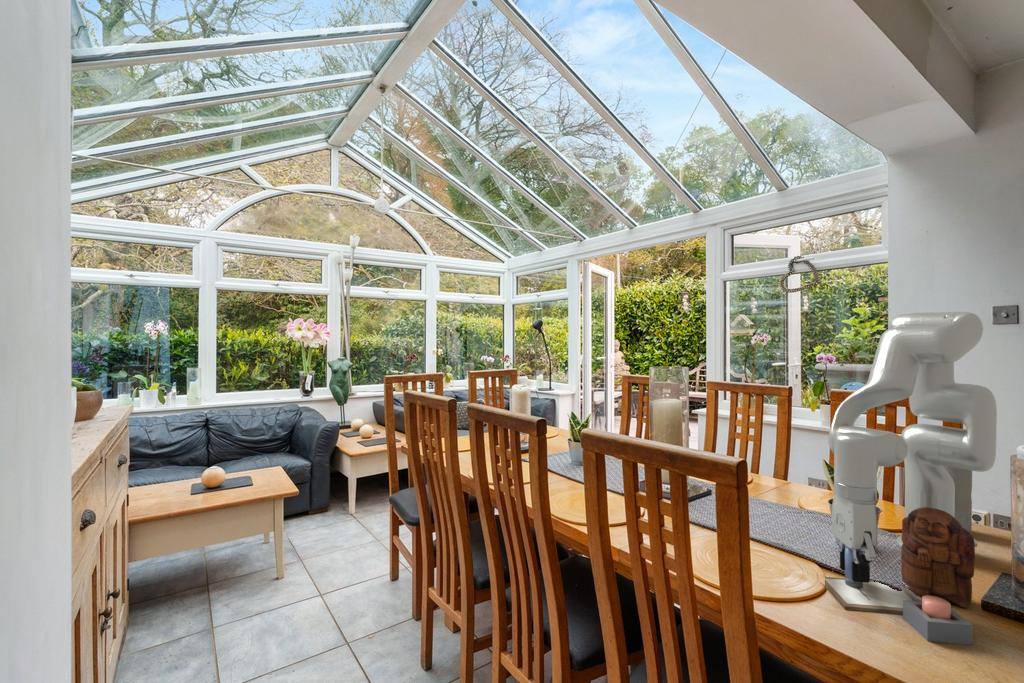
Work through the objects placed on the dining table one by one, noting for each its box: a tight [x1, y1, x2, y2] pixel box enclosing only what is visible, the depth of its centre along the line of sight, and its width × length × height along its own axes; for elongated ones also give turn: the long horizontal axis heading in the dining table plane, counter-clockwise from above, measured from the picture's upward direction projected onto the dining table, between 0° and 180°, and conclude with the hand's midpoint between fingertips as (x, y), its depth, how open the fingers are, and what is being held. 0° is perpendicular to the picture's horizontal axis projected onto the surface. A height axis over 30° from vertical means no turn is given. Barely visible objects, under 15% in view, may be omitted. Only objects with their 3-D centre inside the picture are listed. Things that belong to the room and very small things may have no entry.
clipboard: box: [824, 576, 922, 615], centre depth 101 cm, size 16×12×1 cm
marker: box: [844, 545, 864, 588], centre depth 105 cm, size 3×3×8 cm
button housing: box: [902, 600, 973, 646], centre depth 90 cm, size 7×7×4 cm
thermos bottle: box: [944, 466, 973, 534], centre depth 134 cm, size 8×8×28 cm
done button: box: [921, 595, 952, 620], centre depth 90 cm, size 4×4×4 cm
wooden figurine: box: [900, 507, 976, 609], centre depth 102 cm, size 12×6×18 cm, turn 44°
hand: (854, 574), depth 105 cm, fingers open, 4 cm apart
